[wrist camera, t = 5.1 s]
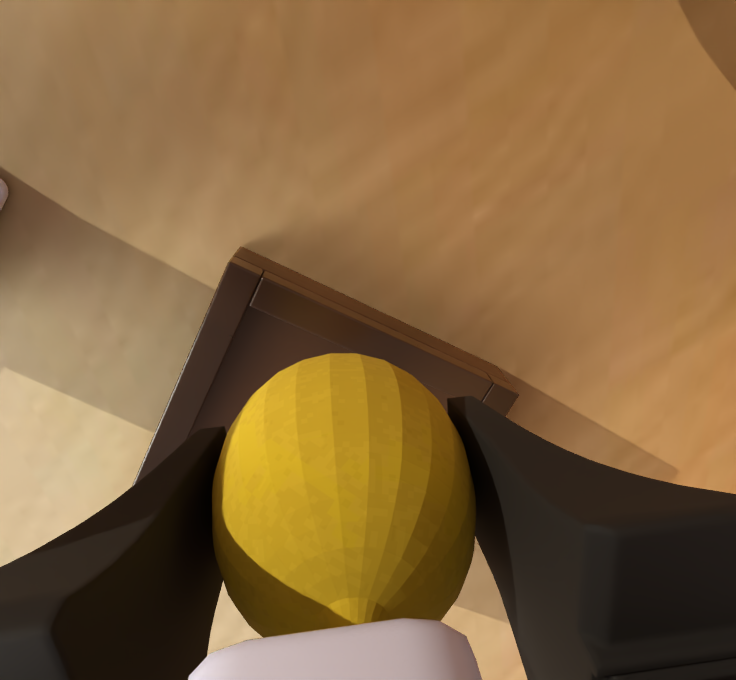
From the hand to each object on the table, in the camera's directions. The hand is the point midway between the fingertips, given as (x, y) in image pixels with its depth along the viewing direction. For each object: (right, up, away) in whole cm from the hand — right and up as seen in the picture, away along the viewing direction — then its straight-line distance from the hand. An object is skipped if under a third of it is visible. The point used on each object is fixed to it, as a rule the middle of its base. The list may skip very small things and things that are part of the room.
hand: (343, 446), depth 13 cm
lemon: (0, +1, +2) cm, 3 cm away
